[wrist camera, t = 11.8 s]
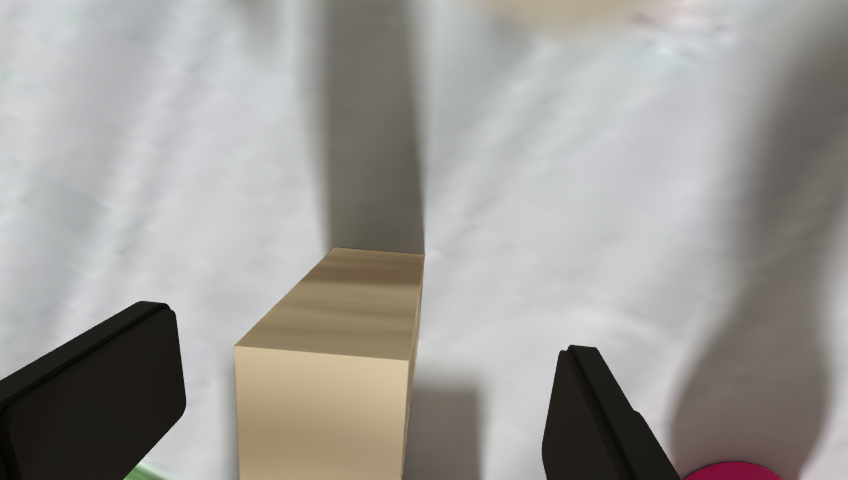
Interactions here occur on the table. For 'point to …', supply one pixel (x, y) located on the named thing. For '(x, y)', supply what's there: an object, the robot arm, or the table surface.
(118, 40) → the table surface
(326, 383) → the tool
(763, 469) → the pepper mill
